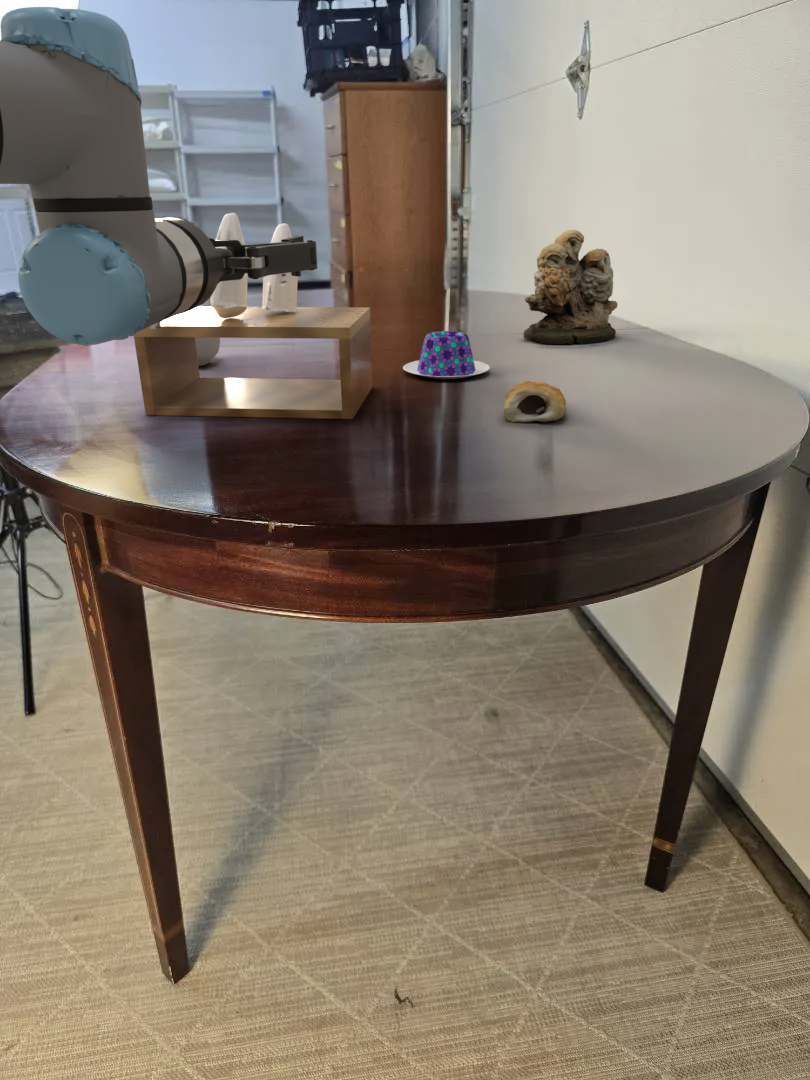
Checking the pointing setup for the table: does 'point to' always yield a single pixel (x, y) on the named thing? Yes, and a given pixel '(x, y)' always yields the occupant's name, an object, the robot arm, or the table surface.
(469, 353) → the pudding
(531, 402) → the pastry
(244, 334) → the shelf
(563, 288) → the owl figurine
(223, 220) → the shaker set
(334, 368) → the table surface
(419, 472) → the table surface
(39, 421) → the table surface
